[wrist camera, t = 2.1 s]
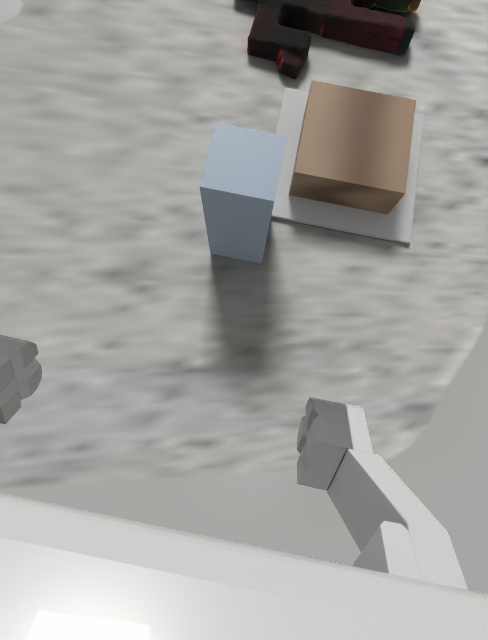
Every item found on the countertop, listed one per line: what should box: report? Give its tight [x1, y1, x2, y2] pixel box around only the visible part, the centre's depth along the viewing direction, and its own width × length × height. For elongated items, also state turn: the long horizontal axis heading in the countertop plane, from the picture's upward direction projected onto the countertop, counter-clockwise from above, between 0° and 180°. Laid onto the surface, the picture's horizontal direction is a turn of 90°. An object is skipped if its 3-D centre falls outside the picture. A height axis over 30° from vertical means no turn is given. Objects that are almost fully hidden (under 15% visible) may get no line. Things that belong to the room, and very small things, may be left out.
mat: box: [271, 87, 424, 244], centre depth 29 cm, size 12×12×1 cm
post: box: [200, 123, 288, 264], centre depth 24 cm, size 4×4×9 cm
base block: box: [289, 81, 416, 215], centre depth 28 cm, size 8×8×3 cm
